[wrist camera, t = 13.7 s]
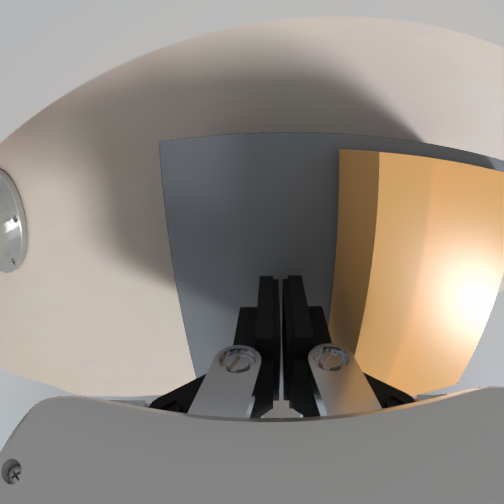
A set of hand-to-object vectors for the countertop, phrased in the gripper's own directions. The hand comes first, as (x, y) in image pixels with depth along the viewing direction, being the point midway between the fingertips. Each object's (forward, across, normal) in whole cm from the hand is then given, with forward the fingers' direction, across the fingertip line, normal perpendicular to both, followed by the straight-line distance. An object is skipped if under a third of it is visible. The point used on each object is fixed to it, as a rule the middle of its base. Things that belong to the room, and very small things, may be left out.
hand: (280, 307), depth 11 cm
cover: (+1, -7, 0) cm, 7 cm away
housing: (+10, -4, 0) cm, 11 cm away
